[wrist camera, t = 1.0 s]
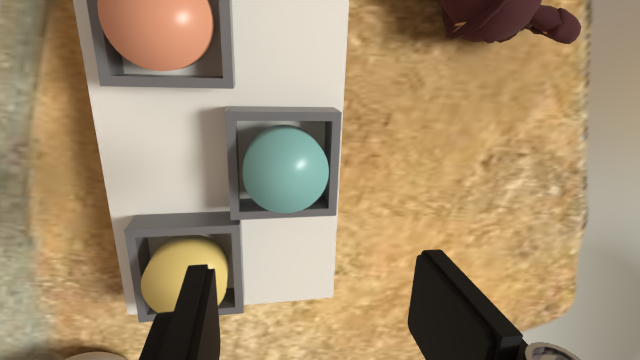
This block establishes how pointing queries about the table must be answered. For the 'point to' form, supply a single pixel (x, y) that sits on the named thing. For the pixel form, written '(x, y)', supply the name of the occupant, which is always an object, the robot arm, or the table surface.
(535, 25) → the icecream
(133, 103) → the button panel
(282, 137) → the button teal
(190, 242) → the button ochre
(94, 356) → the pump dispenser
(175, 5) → the button terracotta
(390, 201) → the table surface
